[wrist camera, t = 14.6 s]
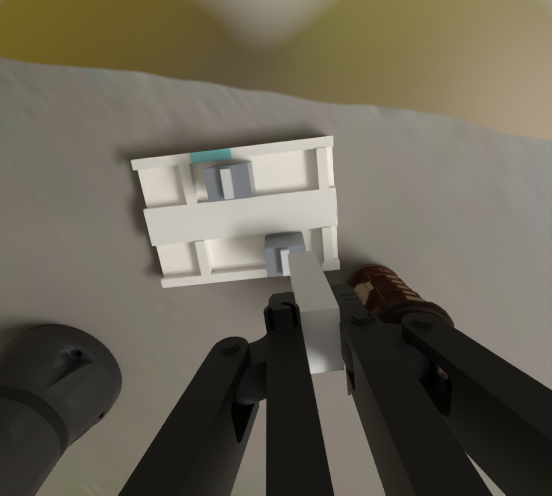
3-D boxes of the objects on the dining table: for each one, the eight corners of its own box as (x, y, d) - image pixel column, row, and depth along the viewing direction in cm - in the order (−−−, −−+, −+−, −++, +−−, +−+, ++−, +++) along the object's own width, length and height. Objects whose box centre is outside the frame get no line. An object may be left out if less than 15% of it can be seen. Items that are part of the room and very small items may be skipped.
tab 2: (268, 261, 35) (267, 279, 30) (265, 235, 34) (263, 250, 29) (304, 257, 35) (308, 275, 30) (301, 231, 34) (305, 246, 29)
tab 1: (217, 195, 33) (207, 203, 28) (212, 165, 32) (201, 169, 27) (255, 190, 33) (251, 198, 28) (251, 161, 32) (246, 164, 27)
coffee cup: (343, 326, 40) (372, 408, 27) (327, 267, 37) (353, 328, 25) (411, 308, 39) (474, 385, 26) (400, 247, 36) (464, 301, 24)
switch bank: (169, 278, 38) (162, 288, 35) (141, 159, 33) (129, 160, 31) (336, 261, 37) (340, 270, 34) (328, 136, 32) (333, 135, 30)
